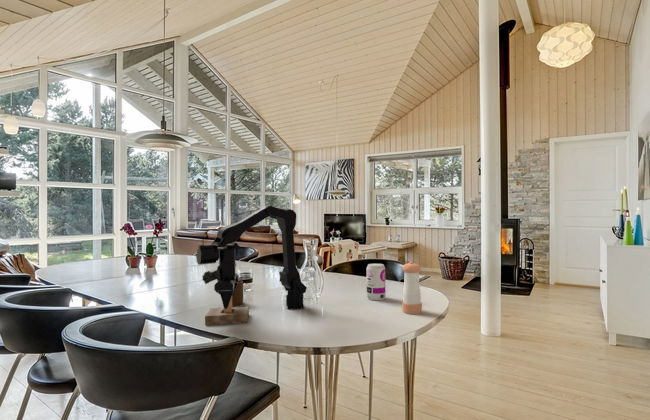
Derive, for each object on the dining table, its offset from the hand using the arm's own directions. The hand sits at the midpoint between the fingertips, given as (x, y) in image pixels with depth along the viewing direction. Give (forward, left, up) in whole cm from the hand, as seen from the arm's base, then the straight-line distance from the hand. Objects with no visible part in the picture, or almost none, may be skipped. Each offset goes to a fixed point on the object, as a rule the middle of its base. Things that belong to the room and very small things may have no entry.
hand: (227, 305), depth 129 cm
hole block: (0, 0, -5) cm, 5 cm away
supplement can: (-61, -21, -5) cm, 65 cm away
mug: (+1, -20, -5) cm, 21 cm away
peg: (0, 0, -5) cm, 5 cm away
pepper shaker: (-69, +1, -5) cm, 69 cm away
